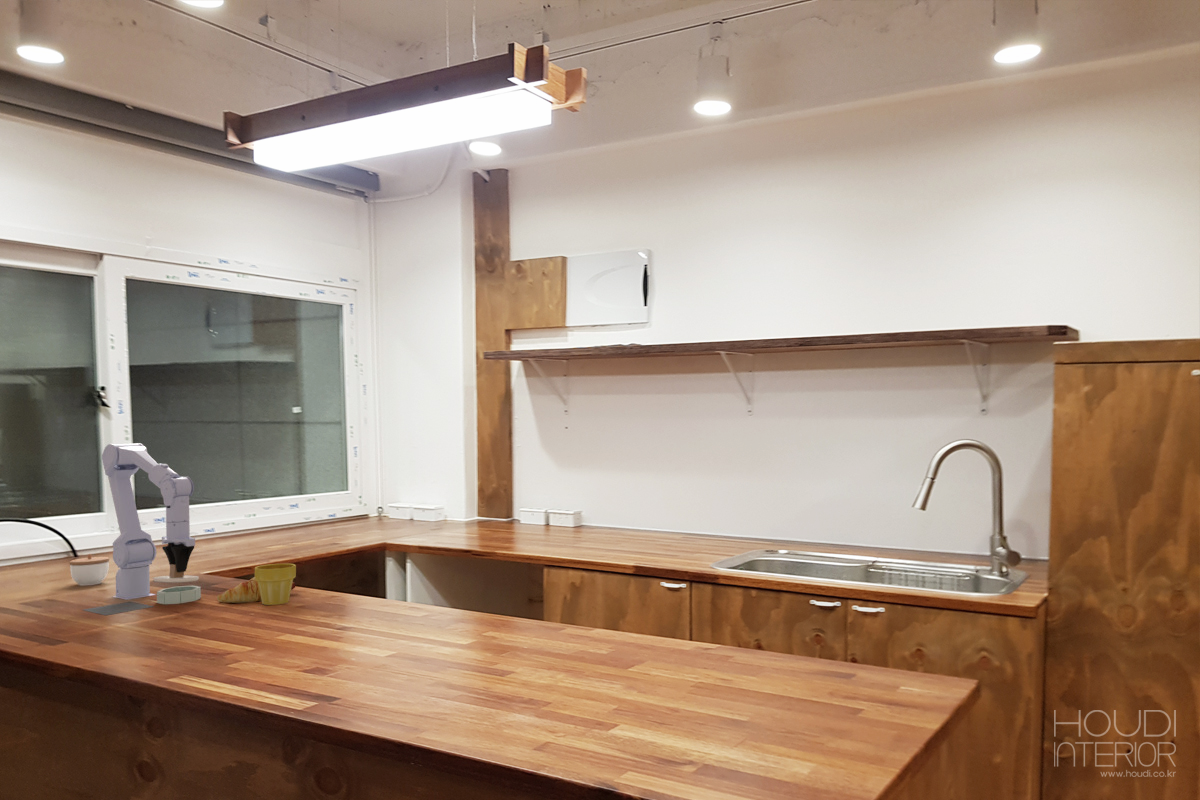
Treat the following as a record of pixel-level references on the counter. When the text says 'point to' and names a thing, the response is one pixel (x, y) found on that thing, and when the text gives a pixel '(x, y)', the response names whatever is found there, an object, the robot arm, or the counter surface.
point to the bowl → (178, 594)
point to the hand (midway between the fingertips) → (178, 571)
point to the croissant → (244, 593)
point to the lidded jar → (89, 570)
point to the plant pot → (275, 582)
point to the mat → (117, 608)
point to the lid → (175, 576)
